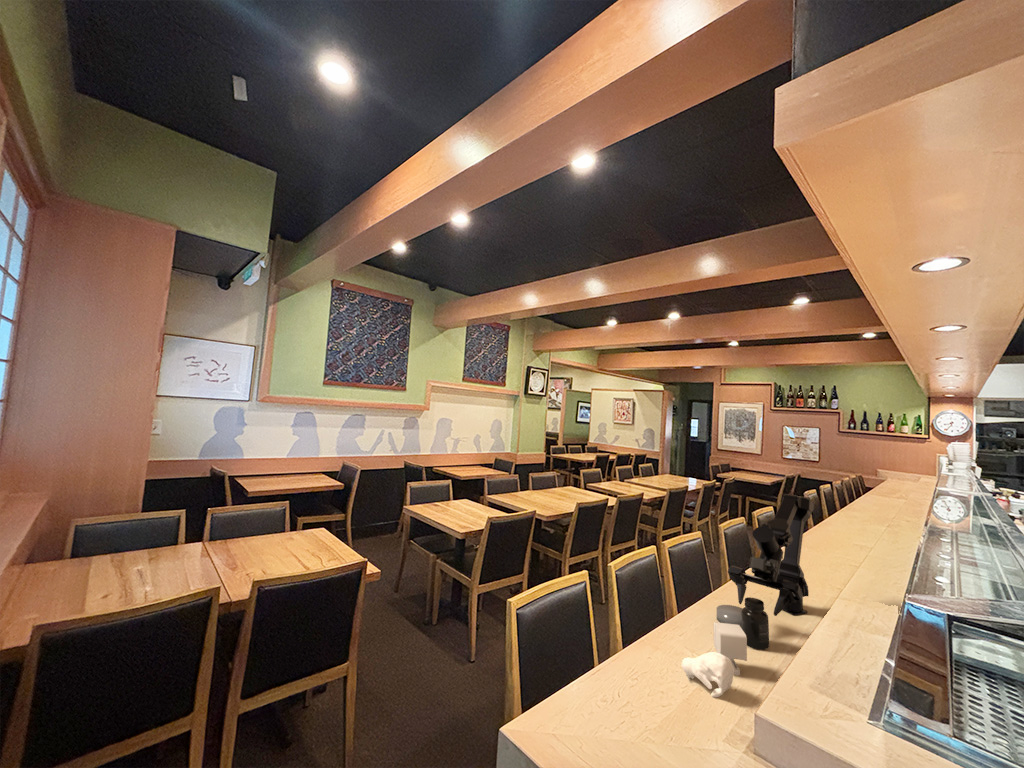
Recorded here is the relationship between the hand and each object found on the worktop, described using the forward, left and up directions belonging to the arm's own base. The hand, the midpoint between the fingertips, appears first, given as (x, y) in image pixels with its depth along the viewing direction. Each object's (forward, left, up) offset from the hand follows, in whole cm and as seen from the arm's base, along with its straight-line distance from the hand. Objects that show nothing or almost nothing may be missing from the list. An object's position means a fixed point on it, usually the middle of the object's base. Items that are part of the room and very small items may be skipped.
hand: (756, 609), depth 121 cm
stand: (-4, -11, -9) cm, 15 cm away
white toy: (+29, +12, -9) cm, 33 cm away
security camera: (+18, +8, -9) cm, 22 cm away
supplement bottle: (+1, +1, -9) cm, 10 cm away
